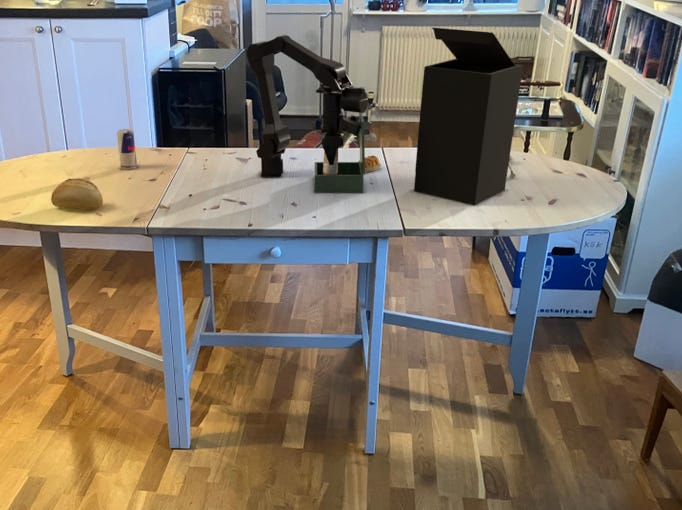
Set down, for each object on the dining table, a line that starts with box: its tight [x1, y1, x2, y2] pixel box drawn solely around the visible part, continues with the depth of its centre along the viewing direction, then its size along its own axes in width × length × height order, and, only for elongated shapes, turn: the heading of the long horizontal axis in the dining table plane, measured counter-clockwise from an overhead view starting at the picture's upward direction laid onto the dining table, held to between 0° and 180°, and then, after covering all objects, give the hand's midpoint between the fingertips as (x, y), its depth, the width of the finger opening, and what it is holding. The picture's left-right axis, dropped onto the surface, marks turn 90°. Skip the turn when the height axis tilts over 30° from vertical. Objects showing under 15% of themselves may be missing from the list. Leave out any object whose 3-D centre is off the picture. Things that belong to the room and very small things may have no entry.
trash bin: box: [413, 27, 524, 206], centre depth 210 cm, size 20×19×45 cm
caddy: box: [314, 161, 365, 194], centre depth 227 cm, size 14×14×5 cm
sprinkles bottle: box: [323, 148, 339, 175], centre depth 224 cm, size 5×5×13 cm
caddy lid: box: [358, 113, 377, 175], centre depth 221 cm, size 15×14×4 cm
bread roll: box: [50, 177, 104, 210], centre depth 212 cm, size 10×15×8 cm, turn 85°
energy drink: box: [116, 128, 138, 171], centre depth 245 cm, size 5×5×12 cm
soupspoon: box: [508, 155, 517, 179], centre depth 240 cm, size 22×3×7 cm
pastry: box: [357, 155, 382, 174], centre depth 241 cm, size 9×7×4 cm
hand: (331, 162), depth 225 cm, fingers closed on sprinkles bottle, 4 cm apart
